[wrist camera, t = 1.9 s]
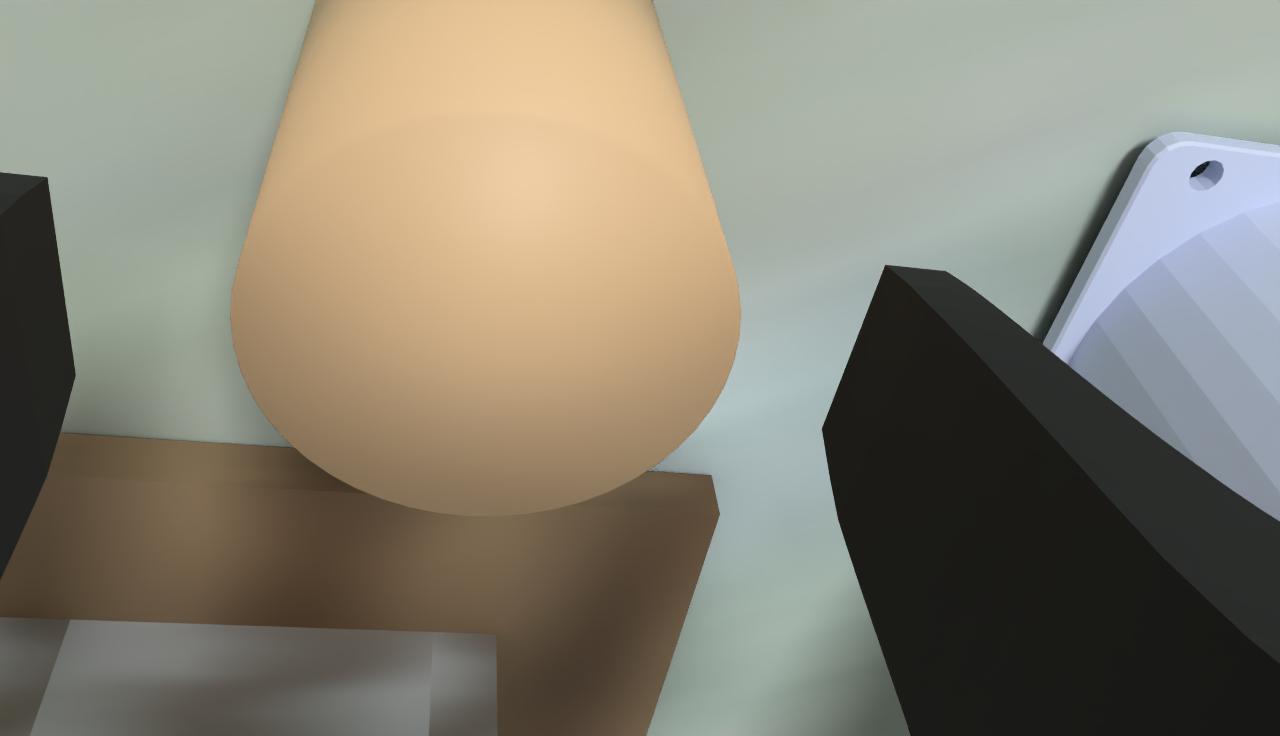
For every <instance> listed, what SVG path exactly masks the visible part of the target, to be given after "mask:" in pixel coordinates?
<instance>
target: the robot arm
mask: <svg viewBox="0 0 1280 736" xmlns="http://www.w3.org/2000/svg"><path fill="white" fill-rule="evenodd" d="M1206 161H1210V163H1209V166H1208V167H1207V168H1206V169H1205V170H1204V172H1203V173H1201V174H1199V175H1197V176H1195V177H1192V178H1190V175H1191V173H1192V172H1193V171H1194V170H1195V168H1196V167H1197V166H1199V165H1200V164H1202V163H1204V162H1206ZM75 376H76V374H75V367H74V360H73V353H72V346H71V339H70V332H69V325H68V318H67V311H66V304H65V297H64V290H63V283H62V276H61V269H60V262H59V255H58V248H57V241H56V234H55V227H54V220H53V213H52V206H51V199H50V192H49V185H48V178H47V177H39V176H29V175H20V174H10V173H1V172H0V580H1V578H2V576H3V574H4V571H5V569H6V567H7V565H8V563H9V561H10V558H11V556H12V554H13V552H14V549H15V547H16V545H17V543H18V541H19V538H20V536H21V534H22V532H23V529H24V527H25V525H26V523H27V521H28V518H29V516H30V514H31V512H32V509H33V507H34V505H35V503H36V500H37V498H38V496H39V494H40V491H41V489H42V487H43V484H44V482H45V480H46V477H47V474H48V471H49V468H50V464H51V461H52V458H53V454H54V451H55V448H56V445H57V441H58V438H59V435H60V431H61V428H62V424H63V420H64V417H65V413H66V409H67V405H68V402H69V398H70V394H71V391H72V387H73V383H74V380H75ZM822 432H823V438H824V444H825V451H826V457H827V463H828V469H829V475H830V481H831V486H832V491H833V496H834V501H835V506H836V511H837V516H838V520H839V523H840V527H841V530H842V533H843V536H844V539H845V543H846V546H847V549H848V552H849V555H850V558H851V561H852V564H853V567H854V570H855V573H856V576H857V579H858V582H859V585H860V588H861V591H862V594H863V597H864V600H865V603H866V605H867V608H868V611H869V614H870V617H871V620H872V623H873V626H874V629H875V632H876V635H877V637H878V640H879V643H880V646H881V649H882V652H883V655H884V658H885V661H886V664H887V667H888V670H889V672H890V675H891V678H892V681H893V684H894V687H895V690H896V693H897V696H898V699H899V702H900V705H901V707H902V710H903V713H904V716H905V719H906V722H907V725H908V729H909V732H910V735H911V736H1280V145H1273V144H1266V143H1259V142H1252V141H1245V140H1238V139H1231V138H1224V137H1216V136H1209V135H1202V134H1195V133H1188V132H1170V133H1167V134H1165V135H1162V136H1160V137H1157V138H1156V139H1155V140H1154V141H1152V142H1151V143H1150V144H1148V145H1147V146H1146V147H1145V148H1144V150H1143V151H1142V153H1141V154H1140V155H1139V157H1138V159H1137V160H1136V162H1135V164H1134V166H1133V168H1132V170H1131V172H1130V174H1129V176H1128V178H1127V180H1126V182H1125V184H1124V186H1123V188H1122V190H1121V192H1120V194H1119V196H1118V198H1117V199H1116V201H1115V203H1114V205H1113V207H1112V209H1111V211H1110V213H1109V215H1108V217H1107V219H1106V221H1105V223H1104V225H1103V227H1102V229H1101V231H1100V233H1099V235H1098V237H1097V238H1096V240H1095V242H1094V244H1093V246H1092V248H1091V250H1090V252H1089V254H1088V256H1087V258H1086V260H1085V262H1084V264H1083V266H1082V268H1081V270H1080V272H1079V274H1078V276H1077V277H1076V279H1075V281H1074V283H1073V285H1072V287H1071V289H1070V291H1069V293H1068V295H1067V297H1066V299H1065V301H1064V303H1063V305H1062V307H1061V309H1060V311H1059V313H1058V315H1057V316H1056V318H1055V320H1054V322H1053V324H1052V326H1051V328H1050V330H1049V332H1048V334H1047V336H1046V338H1045V340H1044V342H1043V344H1042V343H1040V342H1039V341H1038V340H1037V339H1035V338H1034V337H1033V336H1032V335H1031V334H1029V333H1028V332H1027V331H1026V330H1024V329H1023V328H1022V327H1021V326H1019V325H1018V324H1017V323H1016V322H1014V321H1013V320H1012V319H1011V318H1010V317H1008V316H1007V315H1006V314H1004V313H1003V312H1002V311H1001V310H999V309H998V308H997V307H996V306H994V305H993V304H992V303H990V302H989V301H988V300H987V299H985V298H984V297H983V296H981V295H980V294H979V293H977V292H976V291H975V290H973V289H972V288H970V287H969V286H968V285H966V284H965V283H963V282H962V281H960V280H959V279H957V278H956V277H954V276H953V275H951V274H950V273H948V272H946V271H939V270H929V269H919V268H910V267H900V266H891V265H885V267H884V270H883V272H882V275H881V278H880V280H879V283H878V285H877V288H876V290H875V293H874V296H873V298H872V301H871V303H870V306H869V309H868V311H867V314H866V316H865V319H864V321H863V324H862V327H861V329H860V332H859V334H858V337H857V340H856V342H855V345H854V347H853V350H852V352H851V355H850V358H849V360H848V363H847V365H846V368H845V370H844V373H843V376H842V378H841V381H840V383H839V386H838V389H837V391H836V394H835V396H834V399H833V401H832V404H831V407H830V409H829V412H828V414H827V417H826V420H825V422H824V425H823V427H822Z"/></svg>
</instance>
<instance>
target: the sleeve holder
mask: <svg viewBox="0 0 1280 736" xmlns="http://www.w3.org/2000/svg"><path fill="white" fill-rule="evenodd" d="M719 515H720V512H719V508H718V503H717V499H716V494H715V490H714V485H713V481H712V476H711V475H701V474H685V473H670V472H655V471H646V472H644V473H643V474H641V475H640V476H638V477H637V478H635V479H633V480H631V481H629V482H627V483H625V484H623V485H621V486H619V487H617V488H615V489H613V490H611V491H609V492H607V493H604V494H601V495H599V496H596V497H593V498H591V499H588V500H585V501H583V502H579V503H576V504H572V505H568V506H565V507H561V508H557V509H553V510H547V511H541V512H535V513H530V514H521V515H509V516H462V515H452V514H443V513H436V512H431V511H426V510H421V509H415V508H410V507H407V506H404V505H400V504H397V503H394V502H390V501H387V500H383V499H381V498H378V497H376V496H373V495H371V494H369V493H366V492H364V491H361V490H359V489H356V488H354V487H353V486H351V485H349V484H347V483H345V482H343V481H341V480H339V479H338V478H336V477H334V476H332V475H330V474H329V473H327V472H326V471H324V470H323V469H321V468H320V467H319V466H317V465H316V464H314V463H313V462H311V461H310V460H308V459H307V458H306V457H305V456H304V455H302V454H301V453H300V452H299V451H298V450H297V449H296V448H286V447H270V446H255V445H239V444H224V443H209V442H193V441H178V440H163V439H147V438H132V437H116V436H101V435H86V434H70V433H60V435H59V438H58V441H57V445H56V448H55V451H54V454H53V458H52V461H51V464H50V468H49V471H48V474H47V477H46V480H45V482H44V484H43V487H42V489H41V491H40V494H39V496H38V498H37V500H36V503H35V505H34V507H33V509H32V512H31V514H30V516H29V518H28V521H27V523H26V525H25V527H24V529H23V532H22V534H21V536H20V538H19V541H18V543H17V545H16V547H15V549H14V552H13V554H12V556H11V558H10V561H9V563H8V565H7V567H6V569H5V571H4V574H3V576H2V578H1V580H0V736H646V734H647V731H648V728H649V725H650V722H651V719H652V716H653V713H654V710H655V707H656V704H657V701H658V698H659V695H660V692H661V689H662V686H663V683H664V680H665V677H666V674H667V671H668V668H669V665H670V662H671V659H672V656H673V653H674V650H675V647H676V644H677V641H678V638H679V635H680V632H681V629H682V626H683V623H684V620H685V617H686V614H687V611H688V608H689V605H690V602H691V599H692V596H693V593H694V590H695V587H696V584H697V581H698V578H699V575H700V572H701V569H702V566H703V563H704V560H705V557H706V554H707V551H708V548H709V545H710V542H711V539H712V536H713V533H714V530H715V527H716V524H717V521H718V518H719Z"/></svg>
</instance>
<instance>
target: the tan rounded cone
mask: <svg viewBox="0 0 1280 736" xmlns="http://www.w3.org/2000/svg"><path fill="white" fill-rule="evenodd" d="M740 320H741V307H740V297H739V286H738V282H737V279H736V275H735V271H734V267H733V264H732V260H731V256H730V253H729V250H728V247H727V243H726V240H725V237H724V233H723V230H722V227H721V224H720V220H719V217H718V214H717V210H716V207H715V204H714V201H713V197H712V194H711V191H710V187H709V184H708V181H707V178H706V174H705V171H704V168H703V164H702V161H701V158H700V155H699V151H698V148H697V145H696V142H695V138H694V135H693V132H692V128H691V125H690V122H689V119H688V115H687V112H686V109H685V105H684V102H683V99H682V96H681V92H680V89H679V86H678V82H677V79H676V76H675V73H674V69H673V66H672V63H671V59H670V56H669V53H668V50H667V46H666V43H665V40H664V36H663V33H662V30H661V27H660V23H659V20H658V17H657V13H656V10H655V7H654V4H653V0H316V3H315V6H314V9H313V13H312V16H311V20H310V23H309V26H308V30H307V33H306V36H305V40H304V43H303V47H302V50H301V53H300V57H299V60H298V63H297V67H296V70H295V74H294V77H293V80H292V84H291V87H290V90H289V94H288V97H287V101H286V104H285V107H284V111H283V114H282V117H281V121H280V124H279V128H278V131H277V134H276V138H275V141H274V144H273V148H272V151H271V155H270V158H269V161H268V165H267V168H266V171H265V175H264V178H263V182H262V185H261V188H260V192H259V195H258V198H257V202H256V205H255V209H254V212H253V215H252V219H251V222H250V225H249V229H248V232H247V236H246V239H245V242H244V246H243V249H242V252H241V256H240V259H239V263H238V267H237V271H236V275H235V280H234V284H233V288H232V297H231V316H230V321H231V329H232V337H233V346H234V349H235V353H236V356H237V360H238V363H239V367H240V370H241V373H242V375H243V377H244V379H245V381H246V384H247V386H248V388H249V390H250V392H251V394H252V396H253V398H254V399H255V401H256V402H257V404H258V405H259V407H260V408H261V410H262V411H263V413H264V414H265V416H266V417H267V419H268V420H269V421H270V423H271V424H272V425H273V426H274V427H275V428H276V429H277V430H278V432H279V433H280V434H281V435H282V436H283V437H284V438H285V439H286V441H288V442H289V443H290V444H291V445H292V446H293V447H294V448H296V449H297V450H298V451H299V452H300V453H301V454H302V455H304V456H305V457H306V458H307V459H308V460H310V461H311V462H313V463H314V464H316V465H317V466H319V467H320V468H321V469H323V470H324V471H326V472H327V473H329V474H330V475H332V476H334V477H336V478H338V479H339V480H341V481H343V482H345V483H347V484H349V485H351V486H353V487H354V488H356V489H359V490H361V491H364V492H366V493H369V494H371V495H373V496H376V497H378V498H381V499H383V500H387V501H390V502H394V503H397V504H400V505H404V506H407V507H410V508H415V509H421V510H426V511H431V512H436V513H443V514H452V515H462V516H509V515H521V514H530V513H535V512H541V511H547V510H553V509H557V508H561V507H565V506H568V505H572V504H576V503H579V502H583V501H585V500H588V499H591V498H593V497H596V496H599V495H601V494H604V493H607V492H609V491H611V490H613V489H615V488H617V487H619V486H621V485H623V484H625V483H627V482H629V481H631V480H633V479H635V478H637V477H638V476H640V475H641V474H643V473H644V472H646V471H648V470H649V469H651V468H652V467H654V466H656V465H657V464H658V463H659V462H661V461H662V460H663V459H664V458H666V457H667V456H668V455H669V454H671V453H672V452H673V451H674V450H676V449H677V448H678V447H679V446H680V445H681V444H682V443H683V442H684V441H685V440H686V439H687V438H688V437H689V436H690V435H691V434H692V433H693V432H694V431H695V430H696V429H697V427H698V426H699V425H700V423H701V422H702V421H703V419H704V418H705V417H706V416H707V414H708V413H709V412H710V410H711V409H712V407H713V406H714V404H715V402H716V400H717V398H718V397H719V395H720V393H721V391H722V390H723V388H724V386H725V384H726V381H727V378H728V376H729V373H730V371H731V368H732V366H733V363H734V359H735V355H736V350H737V346H738V341H739V335H740Z"/></svg>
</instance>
